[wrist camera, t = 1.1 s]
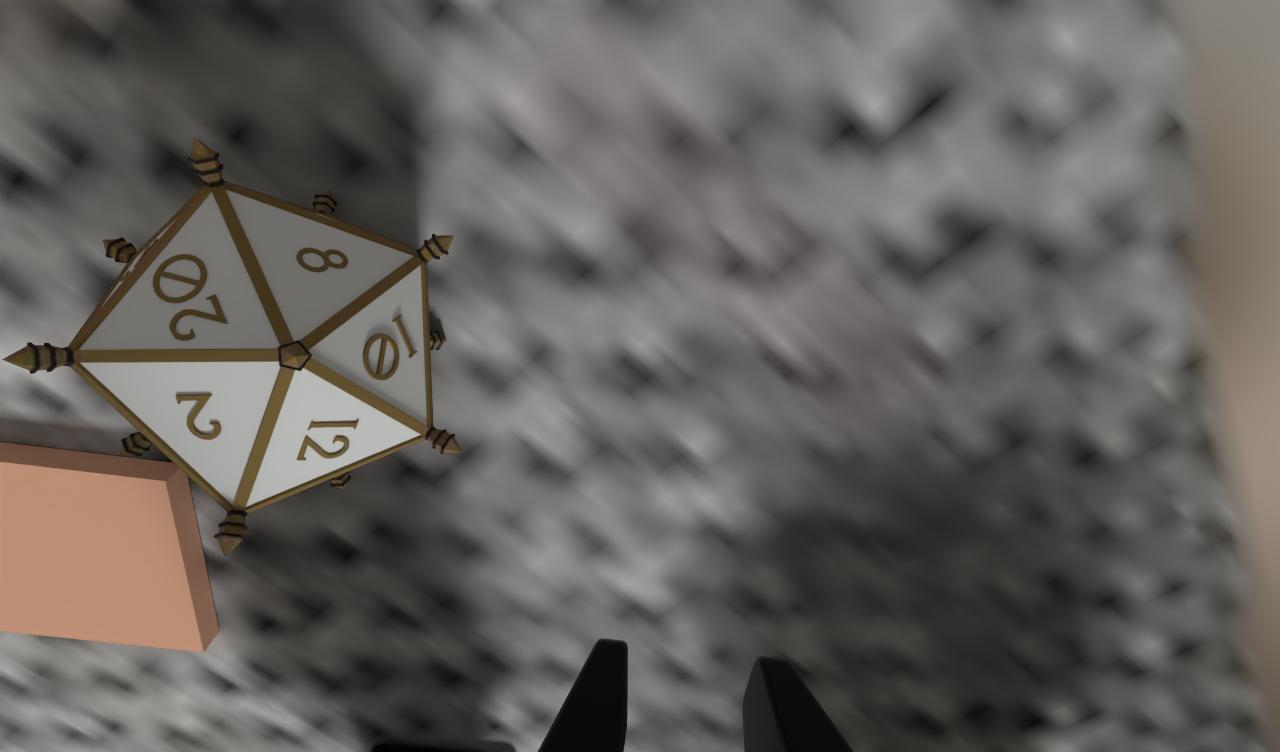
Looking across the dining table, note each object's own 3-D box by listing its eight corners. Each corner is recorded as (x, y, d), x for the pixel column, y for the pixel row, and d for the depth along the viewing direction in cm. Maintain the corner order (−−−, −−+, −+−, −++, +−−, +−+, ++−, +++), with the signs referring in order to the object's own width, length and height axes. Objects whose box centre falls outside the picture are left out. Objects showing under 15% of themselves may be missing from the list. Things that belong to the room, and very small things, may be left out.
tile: (219, 631, 25) (203, 652, 24) (9, 608, 25) (-15, 629, 24) (185, 464, 22) (165, 481, 21) (-61, 434, 21) (-91, 451, 21)
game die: (337, 254, 22) (-88, 219, 14) (503, 141, 18) (20, -12, 9) (398, 503, 22) (-11, 622, 13) (588, 451, 17) (147, 584, 9)
